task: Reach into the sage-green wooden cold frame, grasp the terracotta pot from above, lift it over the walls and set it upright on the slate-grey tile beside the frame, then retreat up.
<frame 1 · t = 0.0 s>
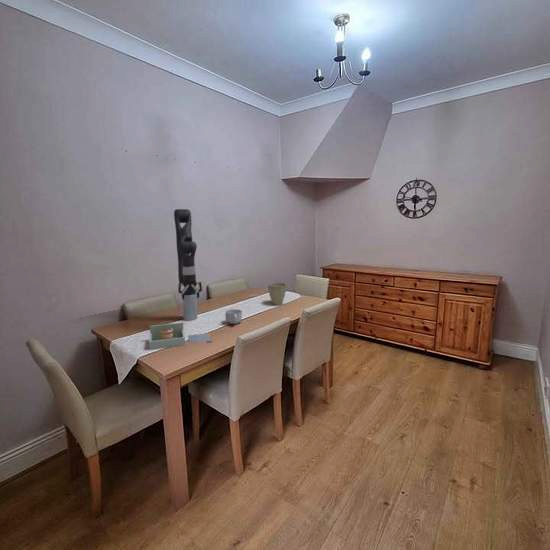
hand: (190, 298, 193), 17 cm above the table, tool pointing down, fingers open, 8 cm apart
plant pot: (277, 304, 243), on the table
slate tile: (199, 339, 172), on the table
cold frame: (167, 343, 166), on the table
pot: (167, 342, 166), point 1 cm above the table, touching cold frame
teacup: (234, 323, 199), on the table
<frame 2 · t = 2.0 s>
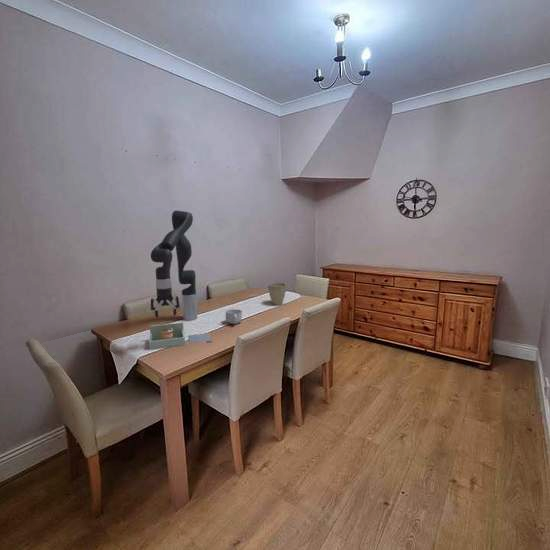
hand: (166, 316, 163), 16 cm above the table, tool pointing down, fingers open, 8 cm apart
nothing on the table moved.
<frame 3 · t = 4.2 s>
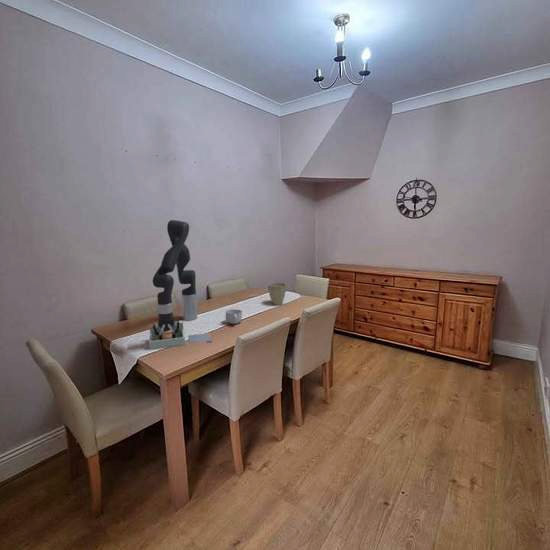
hand: (167, 340, 166), 2 cm above the table, tool pointing down, fingers closed on pot, 5 cm apart
pot: (167, 342, 166), point 1 cm above the table, touching cold frame, gripper
everything else where it was.
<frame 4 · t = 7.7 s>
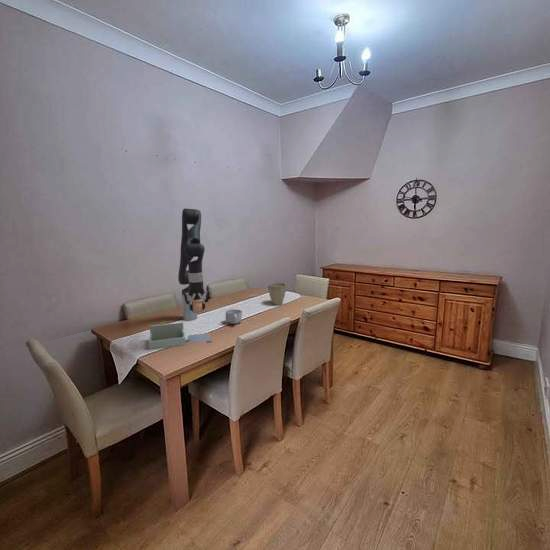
hand: (197, 310, 169), 17 cm above the table, tool pointing down, fingers closed on pot, 5 cm apart
pot: (197, 311, 169), point 17 cm above the table, touching gripper
everything else where it was.
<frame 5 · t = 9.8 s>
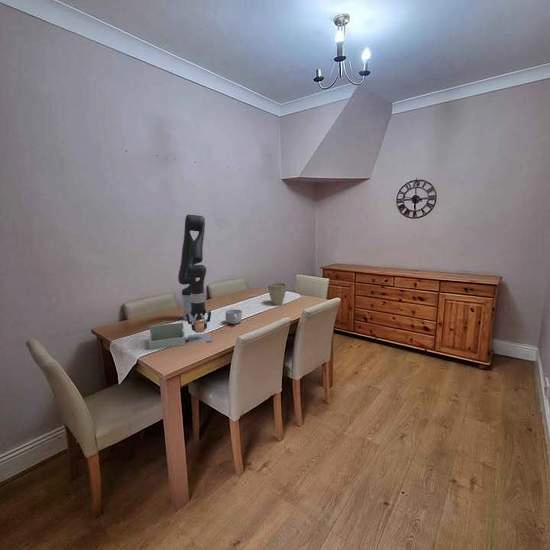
hand: (199, 329, 171), 6 cm above the table, tool pointing down, fingers closed on pot, 5 cm apart
pot: (199, 330, 171), point 5 cm above the table, touching gripper
everything else where it was.
when the fingers open (3 cm above the table, at t = 11.4 s): pot stays where it is, resting on slate tile.
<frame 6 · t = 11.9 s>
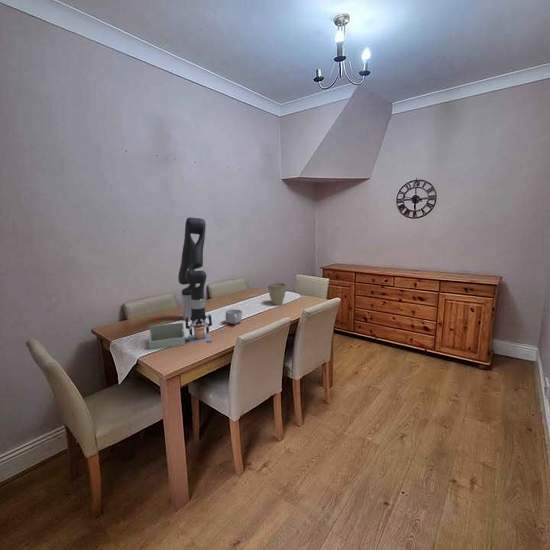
hand: (199, 334, 171), 3 cm above the table, tool pointing down, fingers open, 8 cm apart
pot: (199, 337, 172), point 1 cm above the table, touching slate tile
everything else where it was.
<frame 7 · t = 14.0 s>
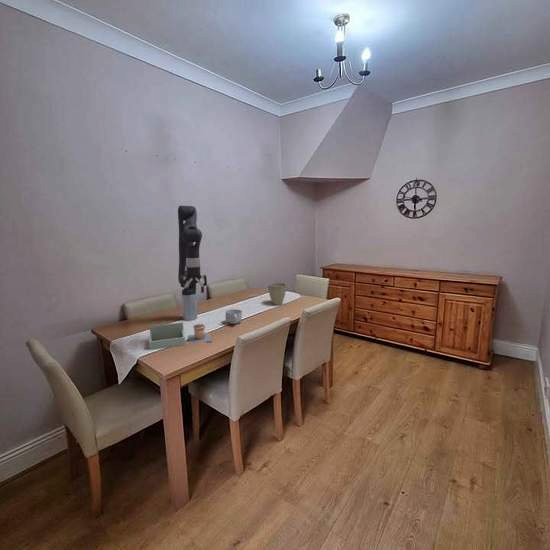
hand: (194, 293, 172), 25 cm above the table, tool pointing down, fingers open, 8 cm apart
nothing on the table moved.
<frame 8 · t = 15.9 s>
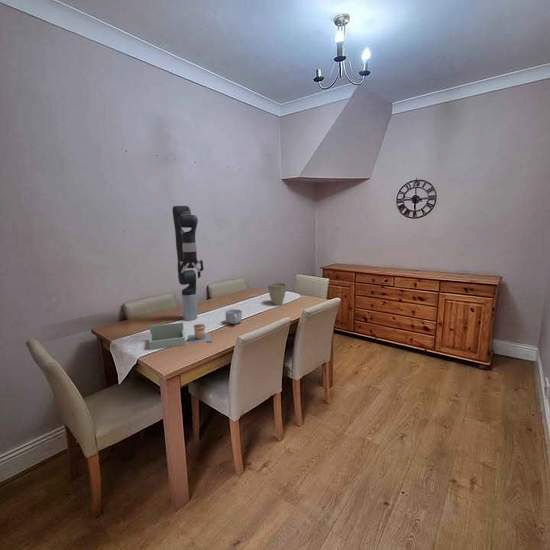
hand: (191, 278, 176), 33 cm above the table, tool pointing down, fingers open, 8 cm apart
nothing on the table moved.
at the end: pot inside the target area on the slate tile (0.1 cm from its centre), point 1.1 cm above the slate tile's base; pot tilted 1°; the gripper is holding nothing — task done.
